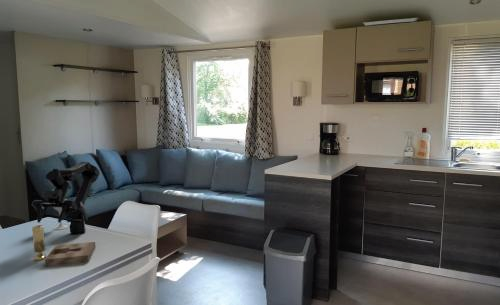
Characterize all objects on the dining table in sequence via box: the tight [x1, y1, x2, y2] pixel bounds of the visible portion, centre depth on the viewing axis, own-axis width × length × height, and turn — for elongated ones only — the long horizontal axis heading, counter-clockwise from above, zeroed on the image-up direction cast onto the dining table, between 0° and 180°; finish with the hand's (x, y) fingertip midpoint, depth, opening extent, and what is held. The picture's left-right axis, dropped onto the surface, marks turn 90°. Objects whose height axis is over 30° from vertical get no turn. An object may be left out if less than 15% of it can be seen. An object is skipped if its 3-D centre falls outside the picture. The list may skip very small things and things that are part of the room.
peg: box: [32, 224, 47, 262], centre depth 156 cm, size 4×4×14 cm
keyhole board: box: [44, 241, 96, 267], centre depth 158 cm, size 16×16×3 cm
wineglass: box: [51, 189, 69, 231], centre depth 196 cm, size 8×8×21 cm
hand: (48, 222), depth 163 cm, fingers open, 9 cm apart
